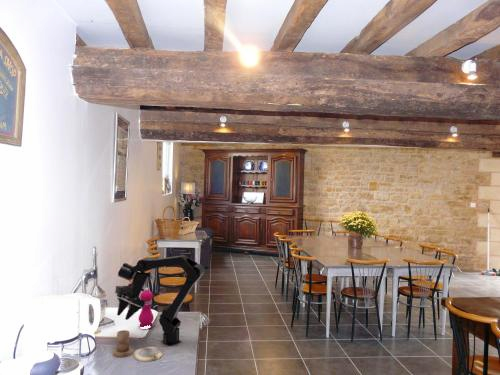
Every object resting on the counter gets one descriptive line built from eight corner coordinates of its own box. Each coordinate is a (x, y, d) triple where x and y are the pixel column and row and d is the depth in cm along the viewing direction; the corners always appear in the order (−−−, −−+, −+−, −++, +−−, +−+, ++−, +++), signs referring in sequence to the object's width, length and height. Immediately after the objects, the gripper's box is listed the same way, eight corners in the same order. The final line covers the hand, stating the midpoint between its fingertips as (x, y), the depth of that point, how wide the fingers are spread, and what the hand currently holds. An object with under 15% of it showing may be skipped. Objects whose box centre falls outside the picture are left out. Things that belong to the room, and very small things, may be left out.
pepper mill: (149, 330, 201) (150, 290, 200) (135, 329, 202) (136, 289, 201) (155, 325, 208) (156, 286, 207) (142, 324, 209) (143, 285, 209)
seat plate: (154, 346, 182) (154, 340, 182) (168, 355, 173) (168, 348, 173) (128, 354, 174) (128, 347, 174) (142, 364, 165) (142, 356, 165)
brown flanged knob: (127, 347, 180) (127, 327, 180) (136, 354, 174) (136, 333, 174) (109, 352, 175) (110, 331, 174) (118, 359, 169) (118, 337, 169)
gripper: (115, 275, 191) (98, 307, 186) (131, 280, 177) (114, 315, 172) (134, 283, 197) (119, 315, 192) (152, 289, 183) (136, 324, 178)
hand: (122, 317), depth 183 cm, fingers open, 9 cm apart
